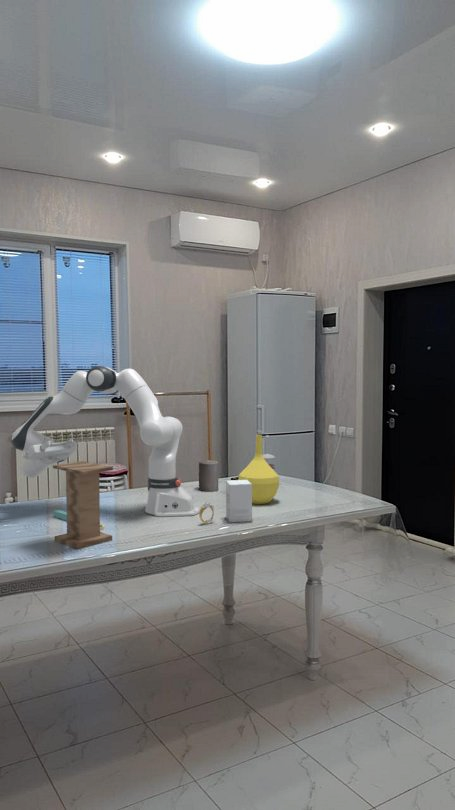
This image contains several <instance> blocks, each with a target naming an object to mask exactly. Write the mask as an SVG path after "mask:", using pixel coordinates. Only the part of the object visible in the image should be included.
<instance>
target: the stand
mask: <svg viewBox="0 0 455 810" xmlns="http://www.w3.org/2000/svg"><path fill="white" fill-rule="evenodd" d="M52 469H56V470H60V471H65V491H66V493H65V495H66V500H65V501H66V512H67V521H66V533H63V534H59V535H54V542H57V543H59V544H62V543H63V544H62V545H64V546H67V545H68V547H70V548H73V549H76V550H81V549H84V548H88V547H91V546H92V547H93V546H95V545H99V544H103V542H104V543H107V542H110V541H111V542H112V541H113V535H111V534H108V533H105V532H102V531H101V530H100V524H101V523H100V522H101V510H100V509H101V508H100V507H101V506H100V502H101V501H100V473H102V472H109V471H113V470H114V466H110V465H104V464H99V463H98V464H97V463H95V462H89V461H88V462H87V461H83V460H81V461H76V462H75V461H74V462H67V463H60V464H59V463H58V464H54V465H52Z"/></svg>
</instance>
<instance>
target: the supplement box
mask: <svg viewBox="0 0 455 810" xmlns="http://www.w3.org/2000/svg"><path fill="white" fill-rule="evenodd" d="M225 493H226V494H225V502H226V503H225V517H226V519H227V520H228V521H229V523H242V522H245V523H246V522H252V521H253V503H252V484H251V483H250V482H249V481H248V480H238V479H235V480H234V479H233V480H230V479H229V480H226V481H225Z"/></svg>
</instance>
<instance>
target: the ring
mask: <svg viewBox="0 0 455 810" xmlns="http://www.w3.org/2000/svg"><path fill="white" fill-rule="evenodd" d="M207 508H209V509H210V510H211V512H212V515H211V518H210V519H208V520H205V519H203V516H202V515H203V513H204V511H206V509H207ZM199 509H200V511H199V513H198V518H199V520H200V521H201V522H202V523H204V524H207V523H208V524H210V523H211V522H212V521H214V519H215V516H216V509H215V507H214V505H212V504H211V502H208V503H207V502H204V503H203V504H202V505H201V506H200V507H199Z"/></svg>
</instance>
